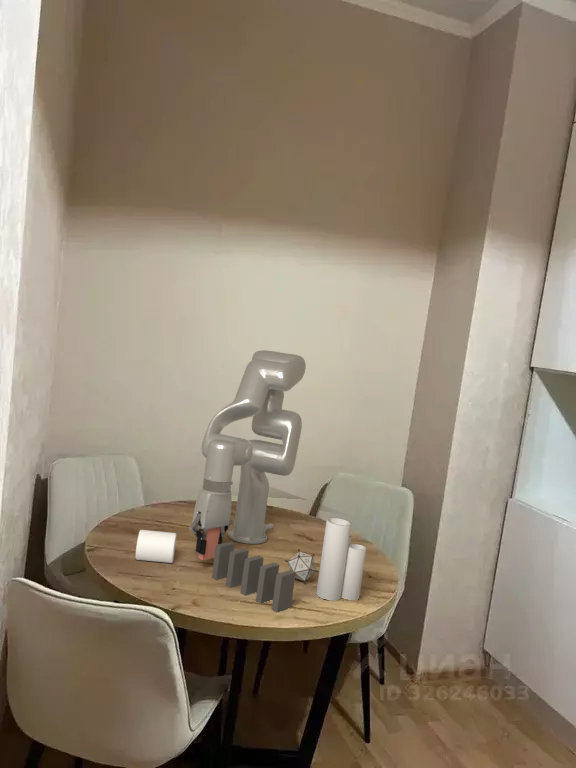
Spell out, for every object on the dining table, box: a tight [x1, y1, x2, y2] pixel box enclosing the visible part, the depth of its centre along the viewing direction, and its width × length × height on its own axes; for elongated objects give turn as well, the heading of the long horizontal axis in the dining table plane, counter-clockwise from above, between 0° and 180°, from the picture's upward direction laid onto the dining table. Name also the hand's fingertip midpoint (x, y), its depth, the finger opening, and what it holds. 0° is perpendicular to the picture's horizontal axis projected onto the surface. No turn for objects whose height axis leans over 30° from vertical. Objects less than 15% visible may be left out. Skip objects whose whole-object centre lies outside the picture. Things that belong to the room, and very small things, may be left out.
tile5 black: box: [255, 562, 280, 605], centre depth 160 cm, size 5×2×9 cm, turn 138°
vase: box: [315, 517, 367, 601], centre depth 169 cm, size 11×7×20 cm, turn 107°
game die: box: [284, 548, 319, 585], centre depth 176 cm, size 9×8×10 cm
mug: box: [135, 529, 177, 564], centre depth 179 cm, size 12×10×8 cm
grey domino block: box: [271, 570, 296, 613], centre depth 157 cm, size 5×2×9 cm, turn 138°
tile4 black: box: [239, 555, 264, 596], centre depth 164 cm, size 5×2×9 cm, turn 138°
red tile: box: [197, 527, 220, 561], centre depth 174 cm, size 5×2×9 cm, turn 138°
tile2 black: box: [211, 541, 235, 581], centre depth 171 cm, size 5×2×9 cm, turn 138°
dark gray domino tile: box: [225, 548, 250, 589], centre depth 167 cm, size 5×2×9 cm, turn 138°
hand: (208, 550), depth 175 cm, fingers closed on red tile, 4 cm apart
